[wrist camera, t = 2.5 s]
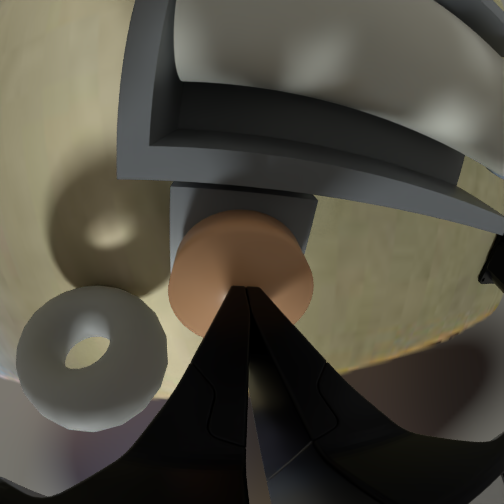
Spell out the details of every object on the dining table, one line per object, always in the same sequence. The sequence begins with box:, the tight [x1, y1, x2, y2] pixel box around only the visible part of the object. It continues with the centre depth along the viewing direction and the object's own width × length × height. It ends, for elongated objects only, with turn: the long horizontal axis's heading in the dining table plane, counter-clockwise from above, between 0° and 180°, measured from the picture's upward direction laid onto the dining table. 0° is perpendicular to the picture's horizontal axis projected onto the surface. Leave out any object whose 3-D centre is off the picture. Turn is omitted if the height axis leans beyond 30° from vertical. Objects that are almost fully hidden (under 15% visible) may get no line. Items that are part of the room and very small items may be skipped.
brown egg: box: [168, 210, 314, 338], centre depth 10 cm, size 4×4×6 cm
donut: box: [16, 285, 168, 432], centre depth 12 cm, size 10×4×10 cm, turn 87°
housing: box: [117, 0, 504, 272], centre depth 9 cm, size 18×18×6 cm
